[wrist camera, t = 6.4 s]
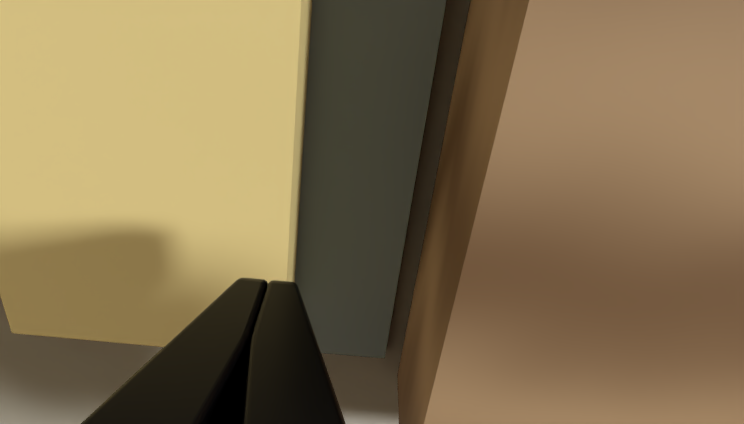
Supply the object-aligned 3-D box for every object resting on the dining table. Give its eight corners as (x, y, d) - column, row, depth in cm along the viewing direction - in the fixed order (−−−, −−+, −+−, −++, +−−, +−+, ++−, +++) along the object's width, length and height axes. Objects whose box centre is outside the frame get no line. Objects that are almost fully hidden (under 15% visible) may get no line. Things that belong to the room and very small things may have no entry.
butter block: (11, 332, 12) (55, 275, 14) (282, 357, 13) (293, 299, 15) (-135, -143, 8) (-43, -144, 9) (305, -82, 8) (318, -94, 10)
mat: (384, 350, 16) (384, 358, 16) (22, 319, 15) (15, 327, 15) (470, -152, 9) (472, -153, 9) (-148, -234, 9) (-165, -236, 9)
